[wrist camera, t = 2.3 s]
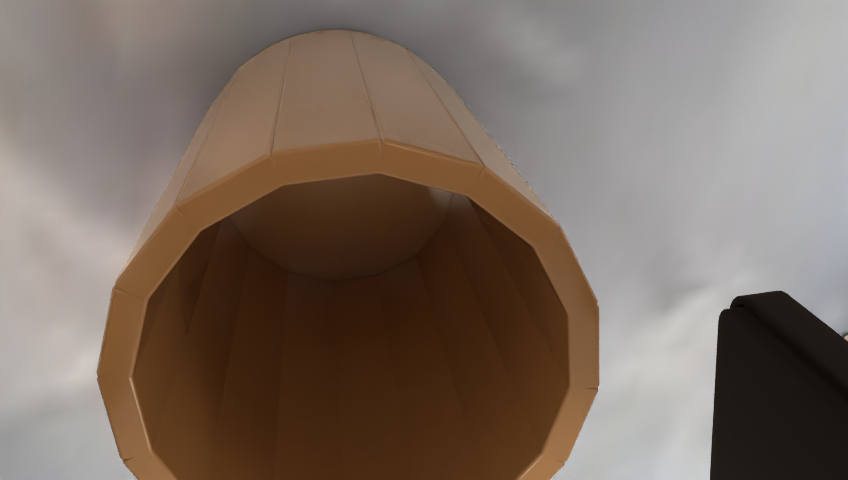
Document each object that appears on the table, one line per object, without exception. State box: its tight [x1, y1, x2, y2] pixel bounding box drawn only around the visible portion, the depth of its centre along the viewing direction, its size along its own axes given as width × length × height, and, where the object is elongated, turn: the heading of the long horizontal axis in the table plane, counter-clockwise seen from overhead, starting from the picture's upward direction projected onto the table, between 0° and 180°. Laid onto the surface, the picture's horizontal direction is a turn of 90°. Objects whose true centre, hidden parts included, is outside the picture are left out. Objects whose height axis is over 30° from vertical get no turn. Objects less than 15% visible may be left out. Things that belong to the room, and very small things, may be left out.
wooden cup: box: [97, 30, 599, 480], centre depth 15 cm, size 7×7×10 cm
